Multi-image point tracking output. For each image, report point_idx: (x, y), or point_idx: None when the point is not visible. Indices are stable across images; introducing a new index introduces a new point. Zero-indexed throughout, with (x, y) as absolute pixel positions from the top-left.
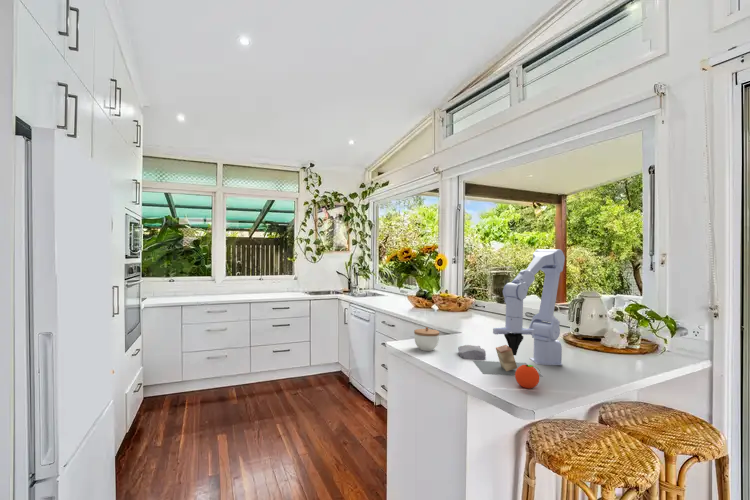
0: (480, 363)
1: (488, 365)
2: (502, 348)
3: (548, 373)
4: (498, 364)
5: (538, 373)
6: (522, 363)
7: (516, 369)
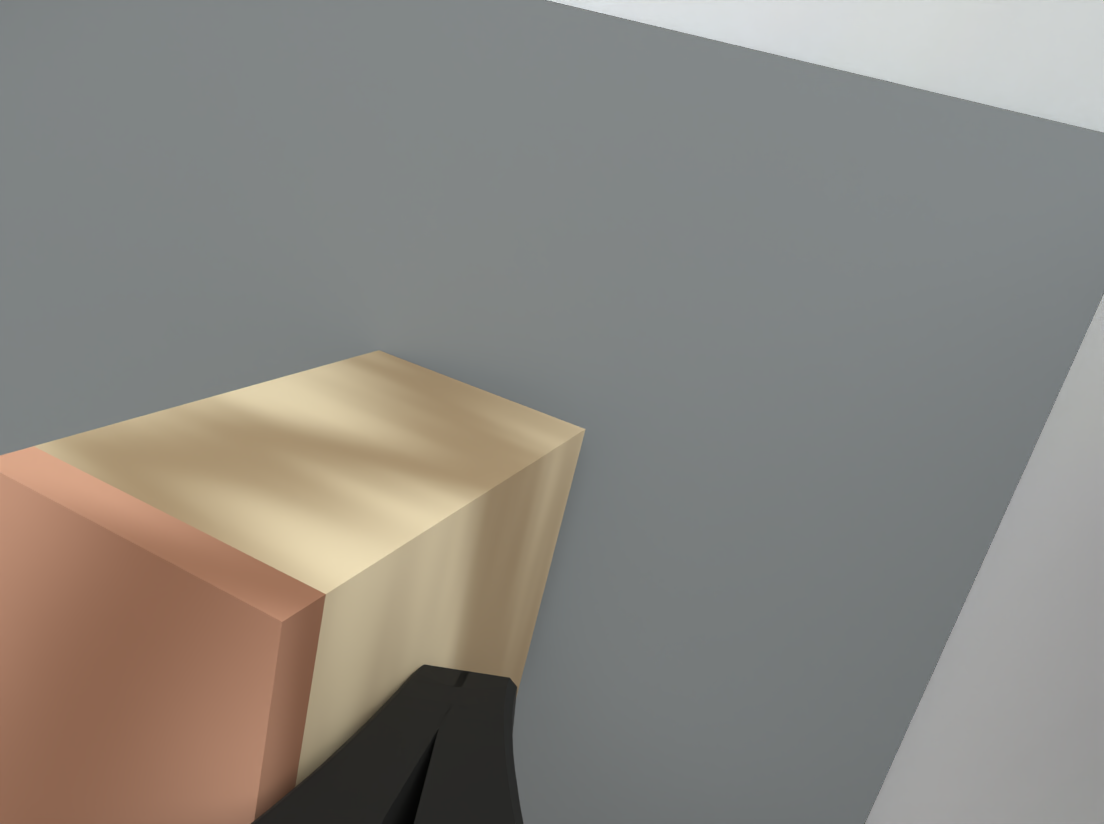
0: (5, 112)
1: (132, 275)
2: (84, 763)
3: (1091, 791)
4: (382, 221)
5: (851, 815)
6: (1039, 193)
7: (584, 574)
